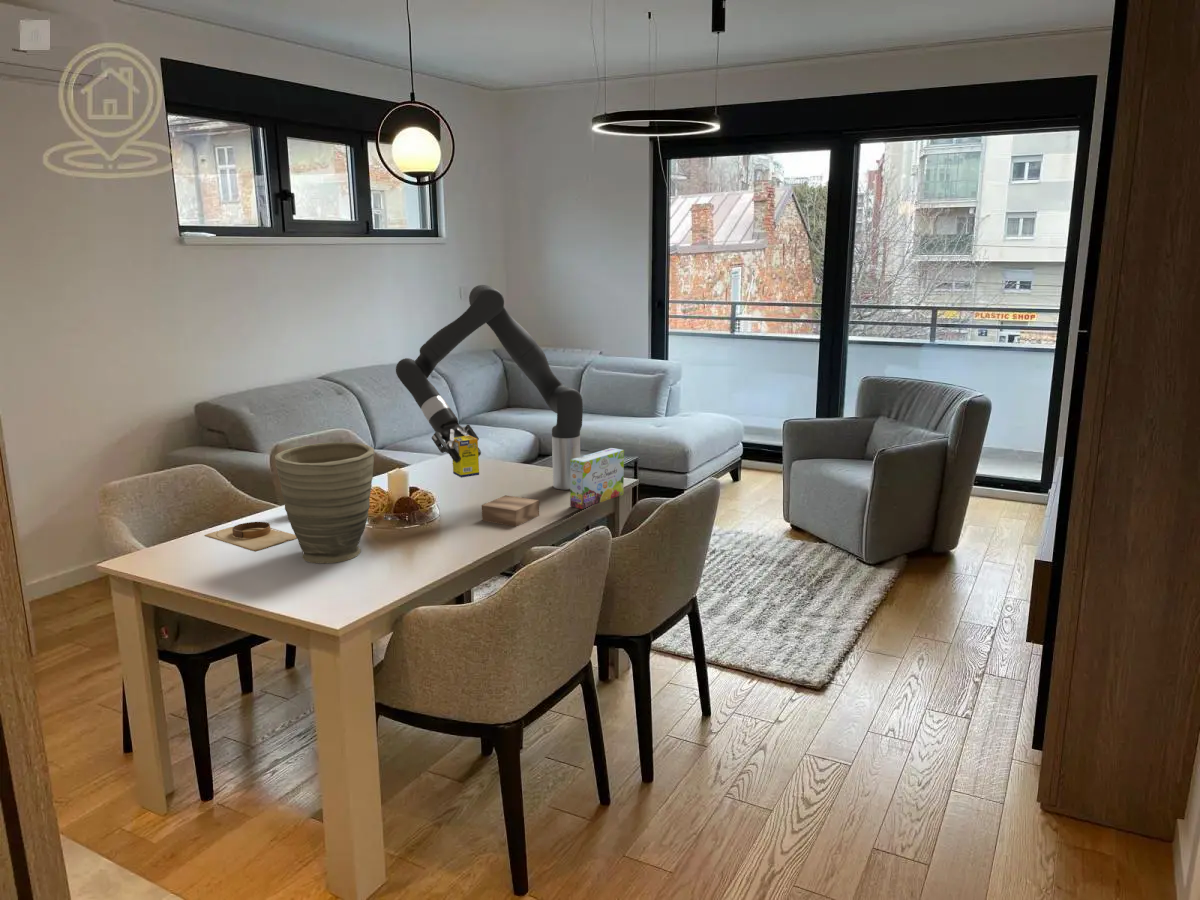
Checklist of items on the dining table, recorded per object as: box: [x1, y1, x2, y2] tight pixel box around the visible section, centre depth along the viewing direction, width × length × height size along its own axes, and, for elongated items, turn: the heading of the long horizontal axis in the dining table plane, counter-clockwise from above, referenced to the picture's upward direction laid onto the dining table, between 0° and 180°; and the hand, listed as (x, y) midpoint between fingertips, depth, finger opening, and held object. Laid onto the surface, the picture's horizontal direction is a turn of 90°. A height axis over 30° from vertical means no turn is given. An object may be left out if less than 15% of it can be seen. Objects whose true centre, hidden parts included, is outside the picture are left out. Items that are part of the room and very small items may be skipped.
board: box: [204, 521, 298, 552], centre depth 243 cm, size 25×15×3 cm, turn 55°
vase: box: [274, 441, 375, 564], centre depth 224 cm, size 25×24×30 cm
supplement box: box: [452, 435, 480, 478], centre depth 255 cm, size 6×6×11 cm
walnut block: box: [481, 495, 540, 527], centre depth 257 cm, size 12×12×5 cm
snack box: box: [569, 447, 625, 510], centre depth 273 cm, size 21×6×15 cm, turn 143°
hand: (469, 458), depth 255 cm, fingers closed on supplement box, 7 cm apart
